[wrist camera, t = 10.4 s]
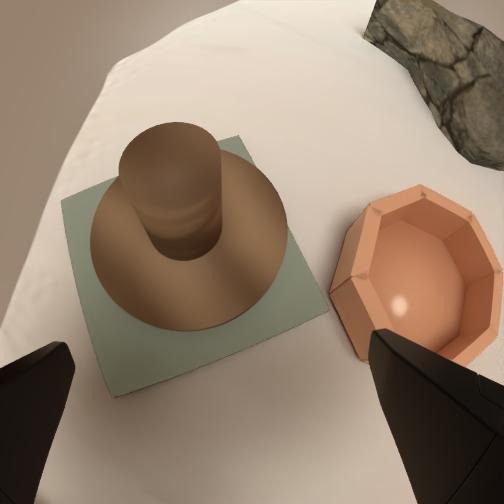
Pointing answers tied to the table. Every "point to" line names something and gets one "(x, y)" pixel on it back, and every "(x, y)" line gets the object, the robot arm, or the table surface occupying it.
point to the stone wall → (449, 72)
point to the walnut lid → (187, 231)
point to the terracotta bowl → (419, 276)
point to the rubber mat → (177, 342)
